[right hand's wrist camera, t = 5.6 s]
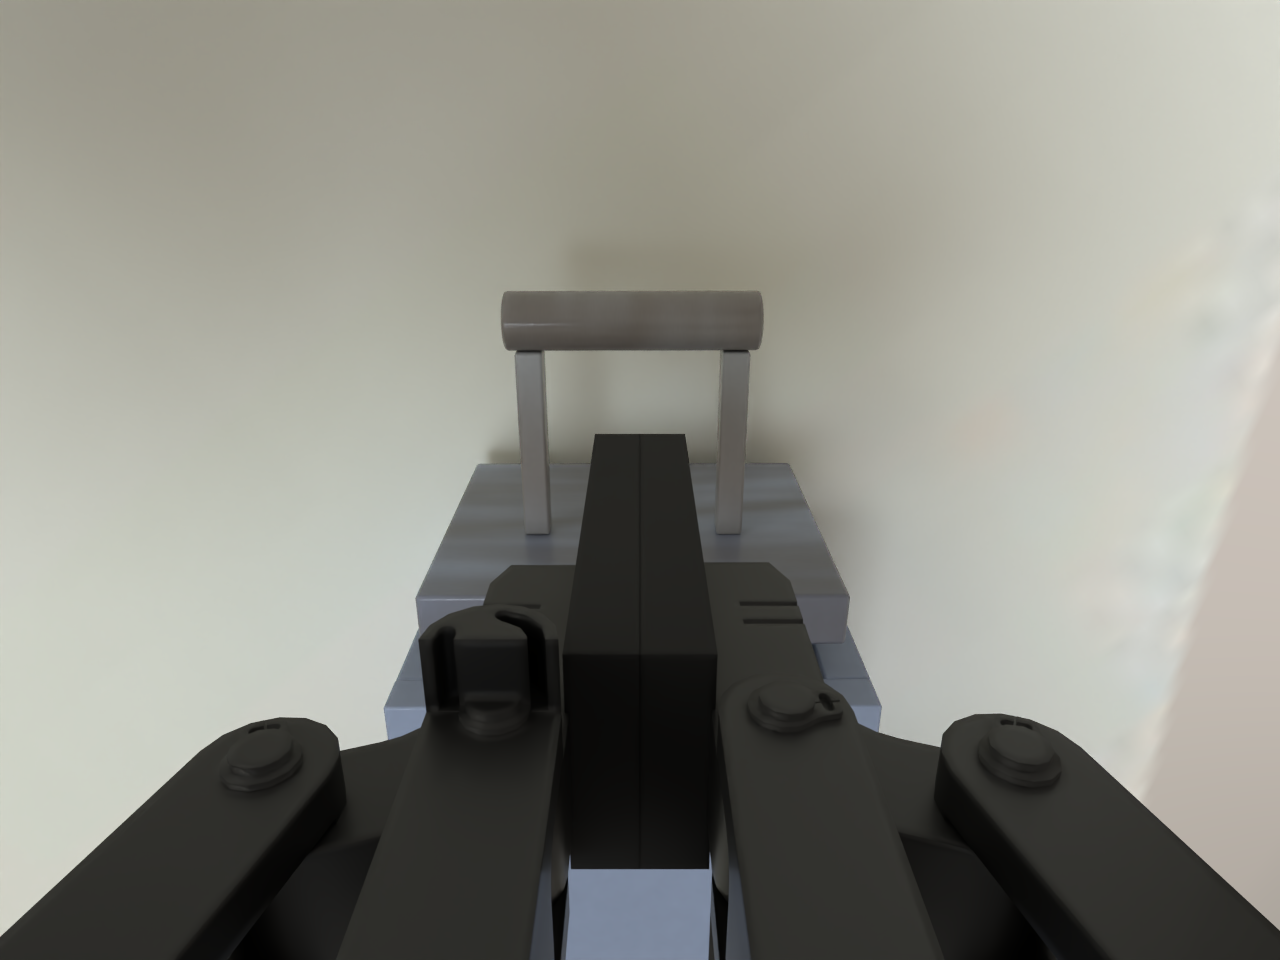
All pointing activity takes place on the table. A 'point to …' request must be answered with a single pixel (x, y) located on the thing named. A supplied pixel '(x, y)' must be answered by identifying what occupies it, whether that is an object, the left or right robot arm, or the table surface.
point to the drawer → (555, 493)
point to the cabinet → (643, 898)
